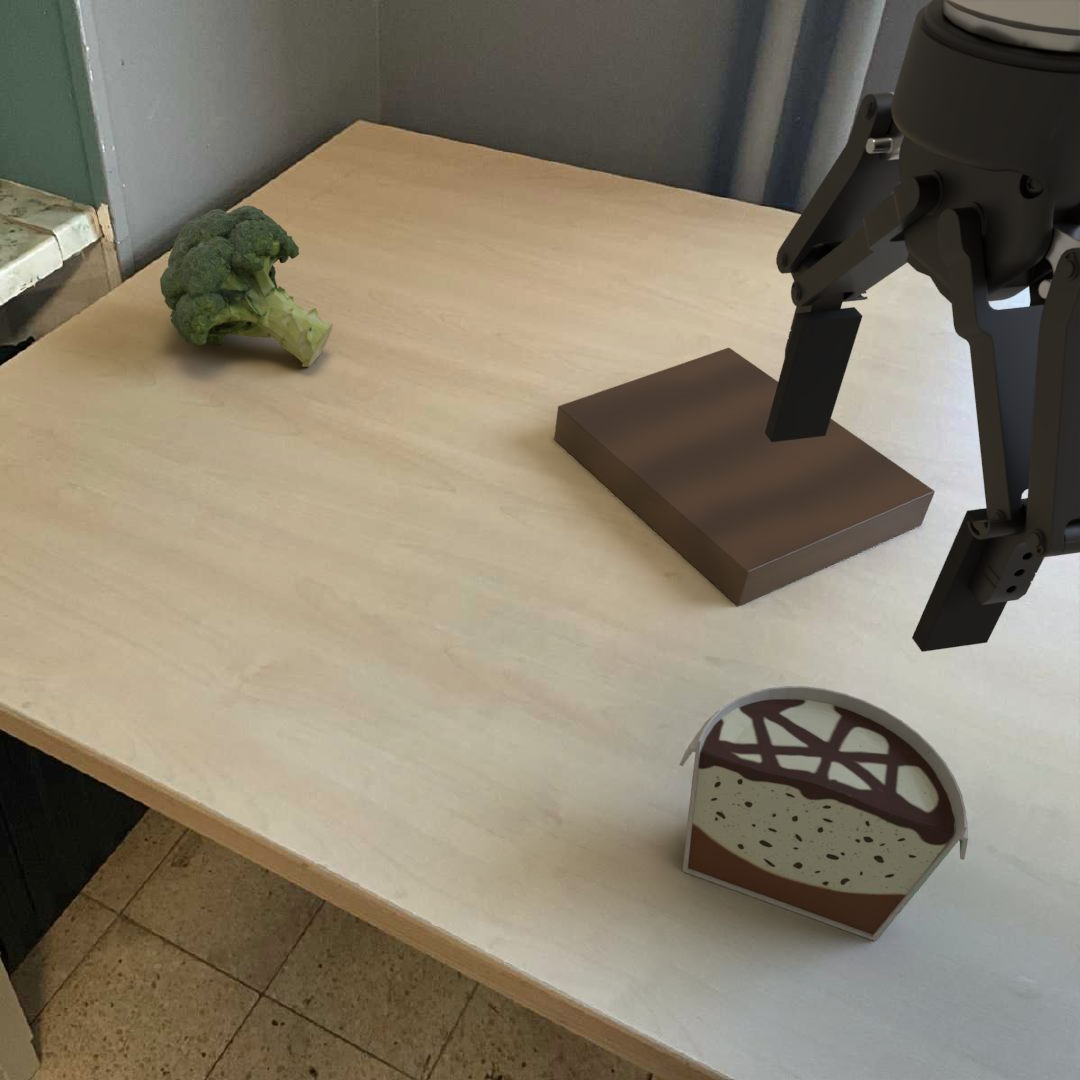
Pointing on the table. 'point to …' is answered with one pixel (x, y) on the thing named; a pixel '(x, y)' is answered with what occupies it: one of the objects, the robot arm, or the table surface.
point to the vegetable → (238, 284)
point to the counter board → (738, 475)
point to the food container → (820, 806)
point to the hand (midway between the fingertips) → (864, 527)
